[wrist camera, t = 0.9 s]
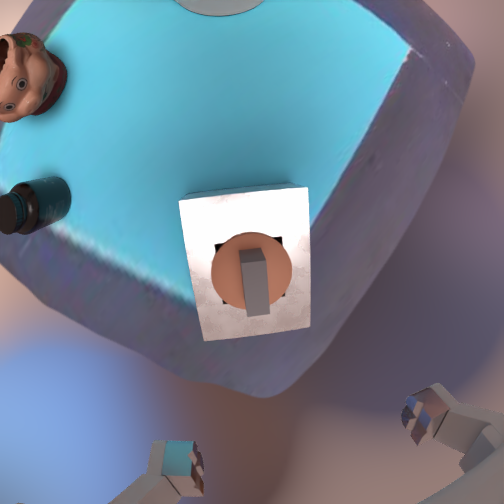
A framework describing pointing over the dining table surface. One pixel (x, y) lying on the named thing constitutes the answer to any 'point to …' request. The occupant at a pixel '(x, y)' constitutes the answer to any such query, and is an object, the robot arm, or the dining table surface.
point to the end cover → (251, 272)
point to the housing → (239, 222)
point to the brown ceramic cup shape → (28, 77)
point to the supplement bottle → (33, 205)
